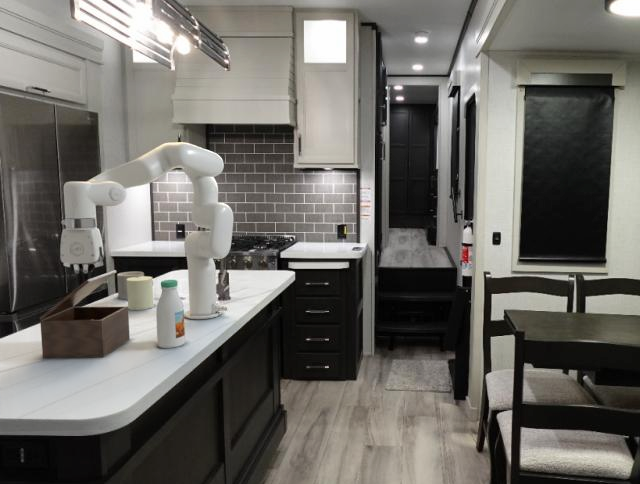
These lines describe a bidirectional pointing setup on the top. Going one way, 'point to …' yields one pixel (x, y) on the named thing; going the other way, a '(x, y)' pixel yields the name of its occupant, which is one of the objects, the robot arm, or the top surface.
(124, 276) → the coffee mug
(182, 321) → the milk bottle
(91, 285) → the bin lid
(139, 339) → the top surface
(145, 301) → the can
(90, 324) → the bin
